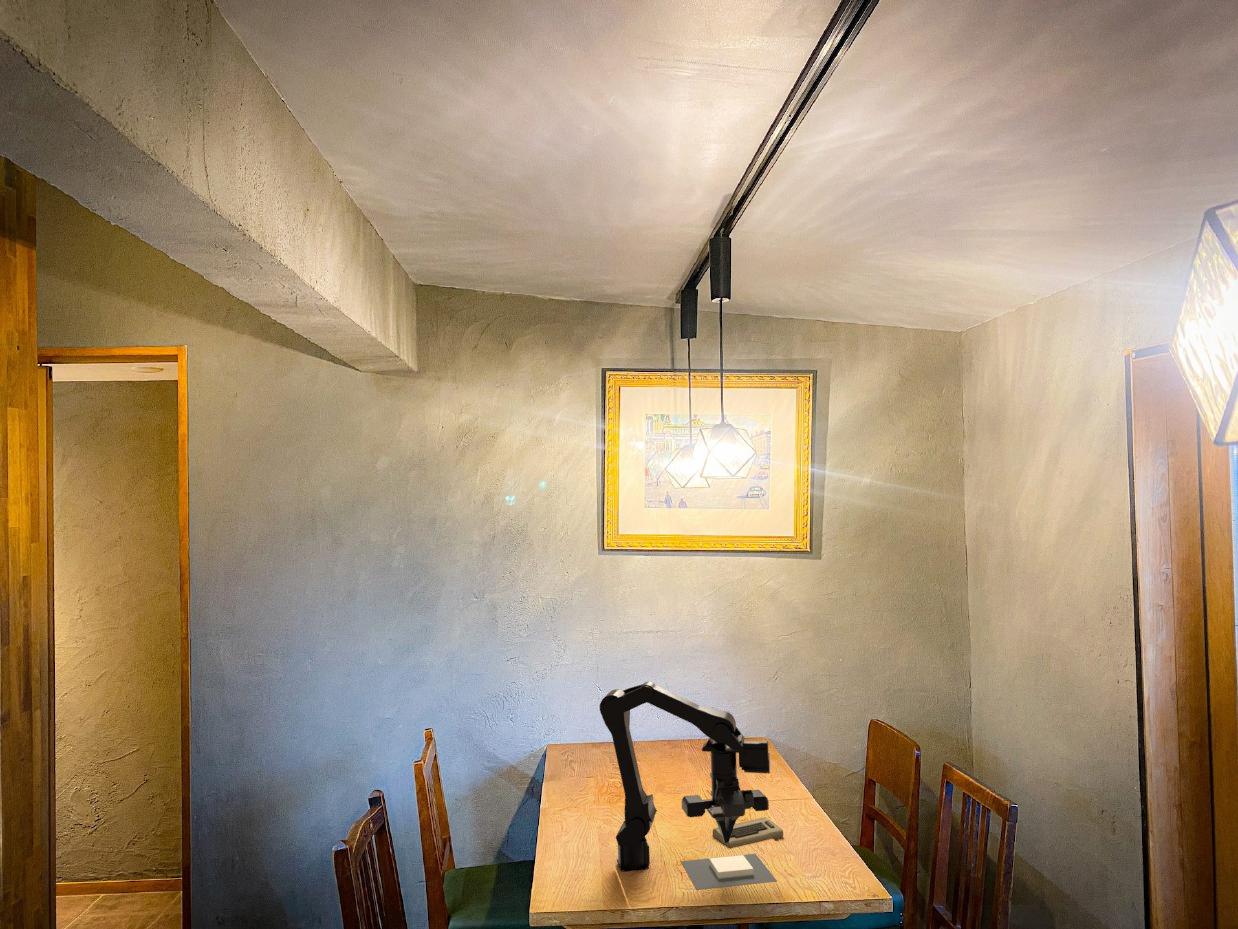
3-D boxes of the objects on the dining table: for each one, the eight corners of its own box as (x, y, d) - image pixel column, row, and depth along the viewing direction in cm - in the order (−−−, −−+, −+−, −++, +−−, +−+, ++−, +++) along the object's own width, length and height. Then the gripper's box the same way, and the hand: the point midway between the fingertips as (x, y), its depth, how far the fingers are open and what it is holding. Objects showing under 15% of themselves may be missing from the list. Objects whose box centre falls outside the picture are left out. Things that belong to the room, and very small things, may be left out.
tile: (718, 872, 170) (753, 868, 171) (709, 858, 177) (743, 855, 178) (718, 879, 170) (753, 875, 171) (709, 865, 177) (743, 862, 178)
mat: (696, 892, 166) (696, 890, 166) (680, 864, 179) (680, 861, 179) (777, 884, 169) (777, 881, 169) (755, 856, 182) (755, 853, 182)
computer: (729, 852, 186) (729, 838, 186) (712, 839, 193) (711, 826, 193) (784, 839, 192) (783, 825, 193) (764, 828, 200) (764, 814, 200)
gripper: (692, 786, 166) (695, 862, 165) (776, 779, 169) (779, 853, 168) (680, 769, 177) (682, 840, 176) (758, 763, 180) (761, 833, 179)
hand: (726, 842), depth 174 cm, fingers closed
